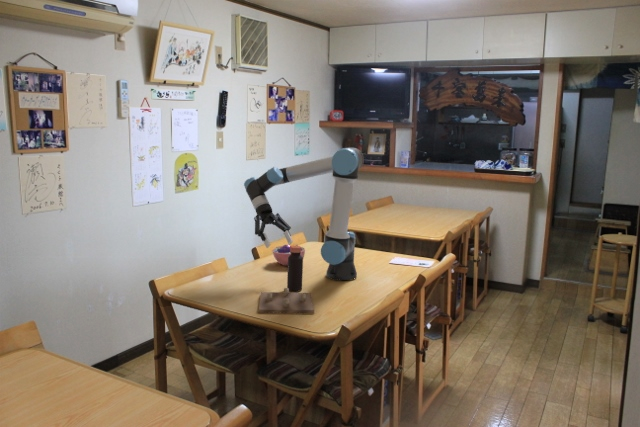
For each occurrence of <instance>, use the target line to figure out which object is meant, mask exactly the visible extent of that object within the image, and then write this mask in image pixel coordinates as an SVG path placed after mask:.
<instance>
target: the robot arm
mask: <svg viewBox="0 0 640 427" xmlns="http://www.w3.org/2000/svg"><path fill="white" fill-rule="evenodd" d="M364 161H365V159H364V154H363V152H362V151H361V150H359V149H358V148H356V147H343V148H340V149H338V150H337V151H335V153H334V154H333V155H332V156H328V157H324V158H320V159H315V160H312V161H307V162H303V163H299V164H295V165H291V166H287V167H282V168H278V167H276V166H273V167H271V168H270V169H268V170H267V171H265V172H264V173H263V174H261V176H259V177H255V176H253V177H252V176H251V177H250V178H248V179H246V180H245V181H244V183H243V186H244V189H245V192H246V193H247V196H248V198H249V200H250V201H251V204H252V207H253V208H254V210H255V213H256V215H255V216H254V218H253V220H254V235H257V237H260V239H261V240H262V242H263V243H264V246H265V248H267V249H269V247H270V246H271V242H270V240H269V238H268V236H267V233H266V232H265V230H266V229H265V228H266V225H273V226H276V227H277V228H278V229H279V230H281V231H282V232H283V235H284V238H285V239H286V241H287V243H288V244H287V245H288V246H291V244H292V243H293V242H294V241H293V239H292V235H291V233H290V230H291V229H292V227H291V226H290V225H289V223H287V222H286V220H284V219H283V217H281V215H280V214H279V213H278V212H277V213H275V214H274V213H273V208H272V206H271V204H270V202H269V200H268V198H267V195H266V192H268V191H269V190H271V189H272V188H273V187H276V186H279V185H283V184H284V185H285V184H287V183H290V182H291V183H292V182H296V181H301V180H305V179H309V178H314V177H318V176H322V175H326V174H330V173H332V177H333V179H334V189H333V193H332V194H333V195H332V204H331V211H330V218H329V219H330V222H329V228H328V230H327V231H325V235H324V241H323V244H322V245H321V247H320V255H321V257H322V259H323V261H325V262H326V263H327V264H328V267H327V270H326V278H328V279H330V280H333V279H334V280H333V281H340V280H348V281H351V280H350V279H354V278H356V277H357V276H358V275H357V269H356V266H355V246H356V242H355V241H356V234H355V233H354V232H352V231H348V229H349V222H350V221H349V220H350V213H351V206H352V199H353V192H354V184H355V182H356V181H357V180H358V177H359V170H360V169H361V168H362V167H363V165H364ZM356 279H357V278H356ZM354 280H355V279H354Z"/></svg>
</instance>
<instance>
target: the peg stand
mask: <svg viewBox="0 0 640 427" xmlns="http://www.w3.org/2000/svg"><path fill="white" fill-rule="evenodd" d="M294 313H296V314H297V313H302V314H303V315H304V313H314V314H315V307H314V301H313V296H312V293H311V292H290V291H289V289H288V288H287V287H284V288H283V292H279V291H278V292H277V291H273V292H270V291H268V292H267V291H260V297H259V304H258V314H294ZM297 315H298V314H297Z"/></svg>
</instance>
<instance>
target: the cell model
mask: <svg viewBox="0 0 640 427" xmlns="http://www.w3.org/2000/svg"><path fill="white" fill-rule="evenodd" d="M291 246H292V245H289V244H284V245H280V246H279V245H278V246H276V247H275V248H273V249H272V250H271V251H272V255H273V257H274V259H275V260H276V262H277V263H278V264H280V265H282V266H285V267H286V266H287V267H288V257H289V256H290V255H291V253H290V247H291ZM295 246H299V245H298V244H296V245H295ZM300 247H301V253H300V255H301V256H302V257H303V259H304V258H305V254H306V253H305V252H306V249H305V247H303V246H300Z"/></svg>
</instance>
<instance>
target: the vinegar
mask: <svg viewBox="0 0 640 427" xmlns="http://www.w3.org/2000/svg"><path fill="white" fill-rule="evenodd" d="M290 246H291V247H290V253H291V255H290V256H289V257H288V266H287V280H286V281H287V283H286V288H288V289H289V292H292V293H298V292H301V291H302V289H303V273H304V272H303V268H304V258H303V257H302V256H301V255H300V253H301V247H302V246H300V245H298V246H296V245H290Z"/></svg>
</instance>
